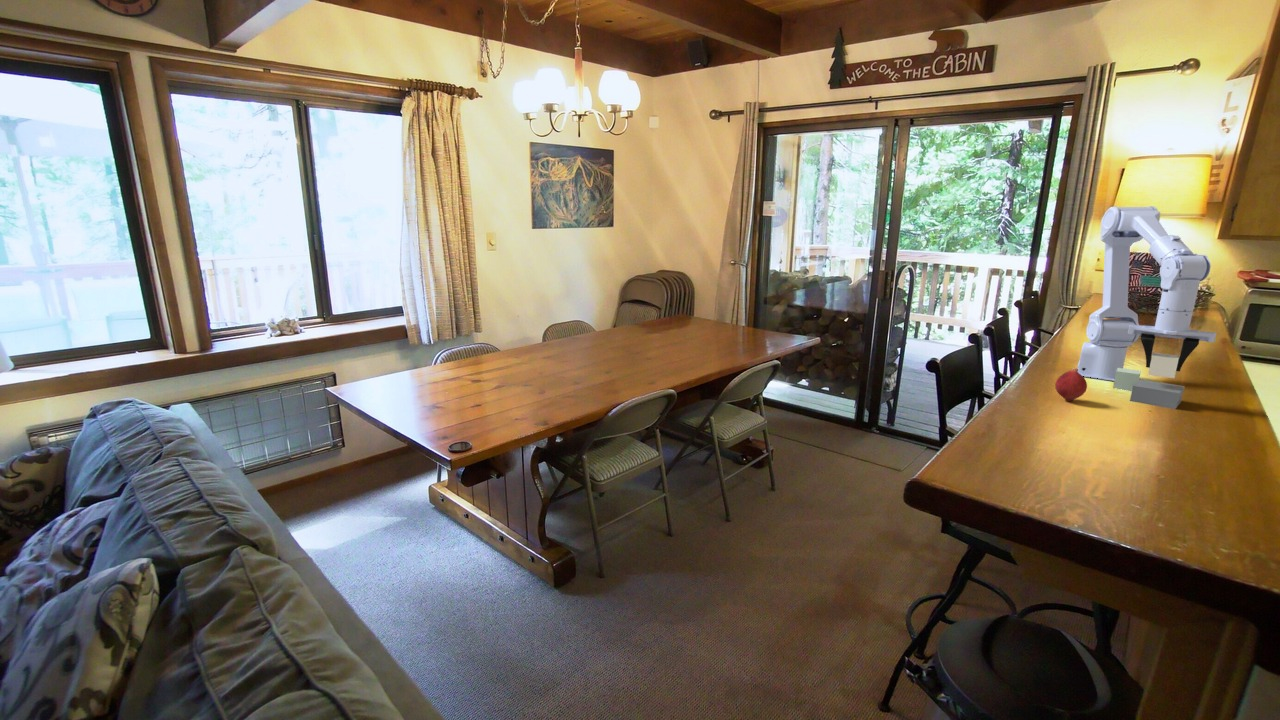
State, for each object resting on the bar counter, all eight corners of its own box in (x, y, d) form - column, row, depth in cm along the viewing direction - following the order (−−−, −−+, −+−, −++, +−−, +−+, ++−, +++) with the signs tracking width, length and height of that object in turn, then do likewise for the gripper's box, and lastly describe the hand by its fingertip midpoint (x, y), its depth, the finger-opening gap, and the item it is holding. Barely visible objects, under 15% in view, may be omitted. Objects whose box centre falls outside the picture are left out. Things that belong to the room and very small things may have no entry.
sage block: (1112, 388, 145) (1116, 371, 143) (1114, 384, 148) (1117, 367, 147) (1136, 392, 142) (1139, 374, 140) (1137, 388, 145) (1140, 370, 144)
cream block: (1148, 374, 133) (1152, 355, 132) (1148, 370, 136) (1152, 352, 135) (1174, 378, 130) (1178, 358, 129) (1174, 374, 133) (1178, 355, 132)
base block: (1129, 402, 135) (1132, 385, 134) (1136, 395, 140) (1139, 379, 139) (1175, 410, 129) (1179, 393, 128) (1180, 402, 134) (1184, 386, 133)
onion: (1056, 403, 133) (1062, 369, 131) (1050, 396, 139) (1055, 363, 137) (1087, 406, 131) (1093, 372, 129) (1079, 398, 136) (1085, 366, 134)
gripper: (1132, 308, 131) (1120, 366, 134) (1221, 315, 121) (1206, 377, 125) (1134, 305, 136) (1123, 361, 139) (1220, 311, 126) (1206, 371, 130)
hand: (1162, 368), depth 132 cm, fingers closed on cream block, 4 cm apart
